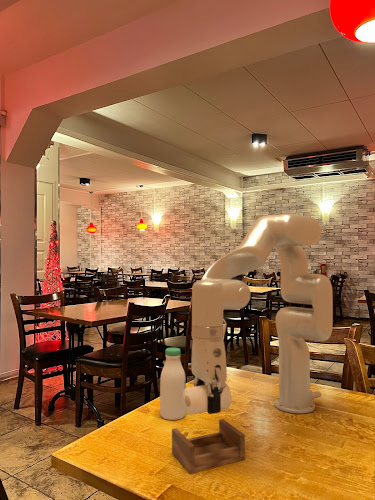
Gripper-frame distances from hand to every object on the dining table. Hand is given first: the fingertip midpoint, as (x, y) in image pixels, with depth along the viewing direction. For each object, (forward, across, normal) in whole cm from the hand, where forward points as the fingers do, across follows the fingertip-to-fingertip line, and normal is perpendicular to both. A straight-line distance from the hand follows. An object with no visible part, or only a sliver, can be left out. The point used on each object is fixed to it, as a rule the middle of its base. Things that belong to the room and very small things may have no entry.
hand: (207, 407), depth 94 cm
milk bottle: (+12, +26, -2) cm, 29 cm away
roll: (+1, 0, 0) cm, 1 cm away
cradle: (+12, 0, 0) cm, 12 cm away
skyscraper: (+12, +30, -19) cm, 38 cm away
